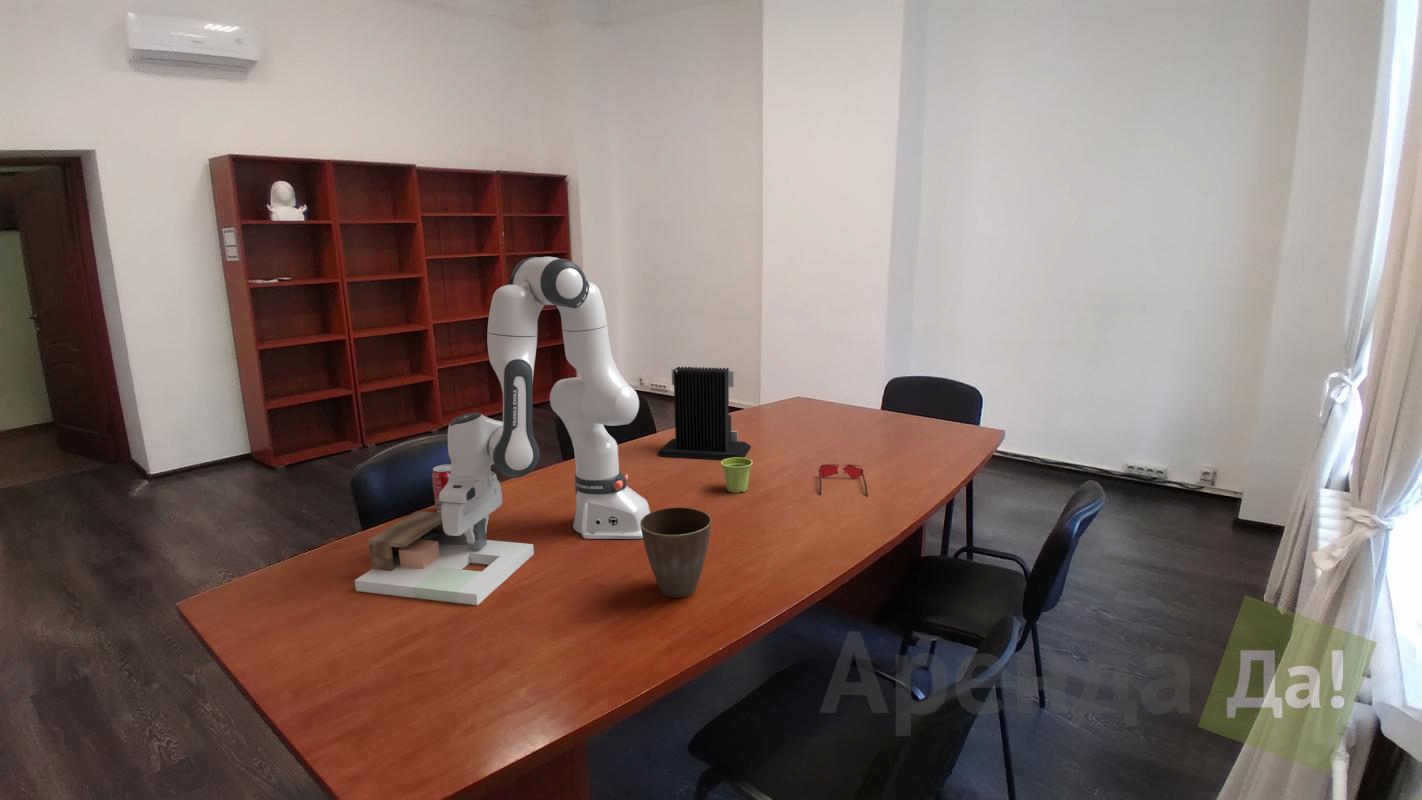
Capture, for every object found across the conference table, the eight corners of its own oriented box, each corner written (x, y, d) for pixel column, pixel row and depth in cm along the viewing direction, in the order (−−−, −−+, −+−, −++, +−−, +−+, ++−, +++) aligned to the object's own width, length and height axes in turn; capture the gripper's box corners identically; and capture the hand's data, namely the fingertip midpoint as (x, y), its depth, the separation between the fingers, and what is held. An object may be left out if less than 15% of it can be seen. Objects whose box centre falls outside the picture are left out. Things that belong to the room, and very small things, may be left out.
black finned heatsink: (752, 446, 258) (751, 363, 251) (742, 462, 240) (741, 374, 233) (670, 441, 265) (668, 361, 258) (655, 457, 247) (652, 371, 240)
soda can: (454, 517, 196) (449, 472, 193) (430, 515, 198) (425, 471, 195) (468, 508, 203) (463, 464, 200) (445, 506, 204) (440, 462, 201)
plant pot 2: (716, 493, 211) (716, 465, 210) (727, 482, 220) (727, 455, 218) (746, 497, 208) (746, 468, 206) (756, 486, 216) (756, 458, 215)
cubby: (452, 540, 175) (449, 513, 174) (406, 572, 159) (403, 543, 157) (420, 537, 177) (417, 510, 176) (371, 569, 161) (368, 540, 159)
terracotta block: (439, 557, 166) (438, 541, 165) (423, 568, 161) (421, 552, 160) (417, 555, 168) (415, 539, 167) (400, 566, 162) (398, 550, 161)
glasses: (863, 478, 223) (863, 463, 222) (868, 497, 207) (868, 481, 206) (817, 477, 224) (818, 462, 223) (819, 496, 209) (819, 480, 207)
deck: (533, 553, 173) (533, 544, 172) (477, 605, 149) (476, 594, 149) (426, 543, 180) (425, 534, 179) (356, 590, 156) (354, 580, 156)
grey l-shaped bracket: (486, 544, 171) (483, 512, 170) (471, 556, 165) (467, 523, 163) (433, 540, 175) (429, 509, 173) (416, 552, 168) (411, 520, 167)
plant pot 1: (687, 614, 144) (685, 540, 141) (628, 596, 152) (625, 525, 149) (725, 584, 157) (724, 515, 153) (669, 568, 164) (667, 502, 161)
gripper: (483, 467, 177) (488, 520, 180) (434, 497, 158) (440, 555, 161) (506, 469, 176) (510, 522, 179) (459, 499, 157) (465, 557, 160)
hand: (477, 538), depth 170 cm, fingers closed on grey l-shaped bracket, 3 cm apart
